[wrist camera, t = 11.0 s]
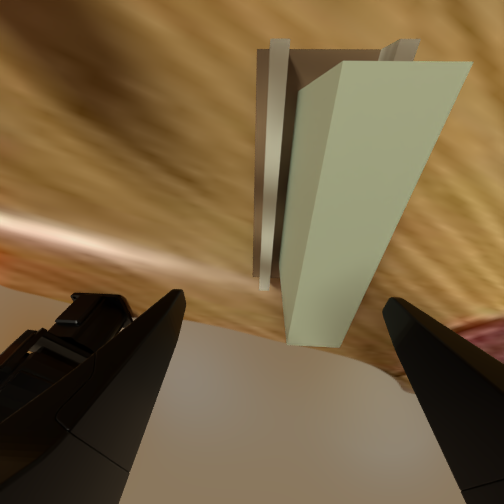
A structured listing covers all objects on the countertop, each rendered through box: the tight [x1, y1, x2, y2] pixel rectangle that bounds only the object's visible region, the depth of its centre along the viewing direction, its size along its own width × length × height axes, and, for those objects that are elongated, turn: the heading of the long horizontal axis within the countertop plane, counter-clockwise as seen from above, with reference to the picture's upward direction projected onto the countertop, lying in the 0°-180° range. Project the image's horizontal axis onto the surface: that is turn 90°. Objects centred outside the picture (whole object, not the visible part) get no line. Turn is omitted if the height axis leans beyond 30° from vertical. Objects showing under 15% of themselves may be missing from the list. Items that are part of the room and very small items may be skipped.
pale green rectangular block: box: [279, 61, 473, 348], centre depth 13 cm, size 14×4×9 cm, turn 179°
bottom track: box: [253, 39, 421, 291], centre depth 17 cm, size 18×9×3 cm, turn 179°
